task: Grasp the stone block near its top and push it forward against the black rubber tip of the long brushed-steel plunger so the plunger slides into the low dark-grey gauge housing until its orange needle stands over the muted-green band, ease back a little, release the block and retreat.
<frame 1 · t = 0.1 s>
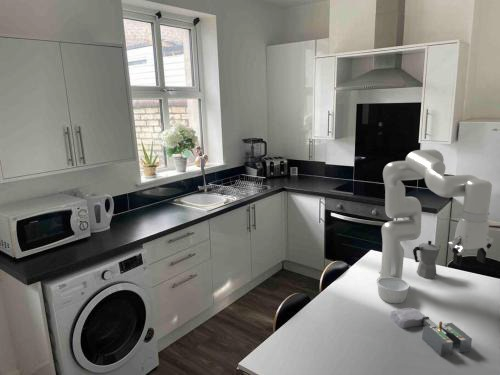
hand: (468, 263, 133), 31 cm above the table, fingers open, 9 cm apart
gauge housing: (445, 344, 139), on the table
stone block: (406, 320, 154), on the table
ramekin: (392, 297, 172), on the table
plunger: (434, 324, 144), point 4 cm above the table, slide at 0.0 cm
coffeepot: (424, 275, 192), on the table
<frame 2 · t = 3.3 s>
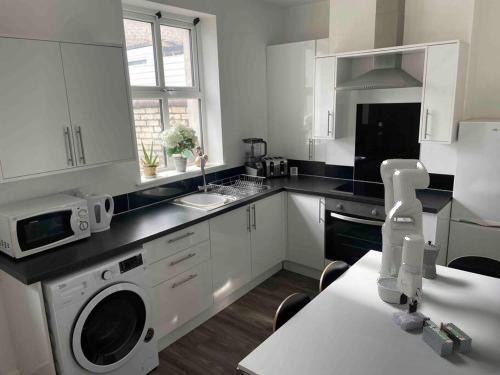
hand: (407, 307, 153), 5 cm above the table, fingers open, 5 cm apart
stone block: (408, 322, 153), on the table
plunger: (435, 325, 143), point 4 cm above the table, slide at 0.6 cm
everything else where it was.
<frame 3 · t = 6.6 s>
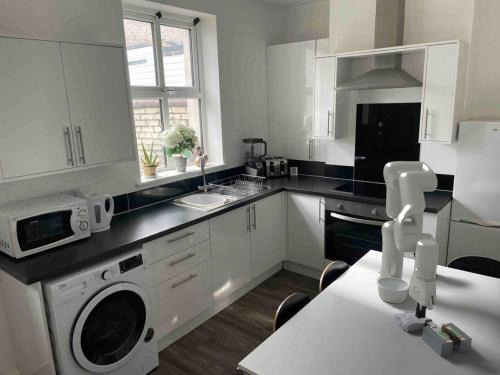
hand: (420, 317, 146), 6 cm above the table, fingers closed
stone block: (410, 324, 152), on the table
plunger: (437, 327, 142), point 4 cm above the table, slide at 1.8 cm
everything else where it was.
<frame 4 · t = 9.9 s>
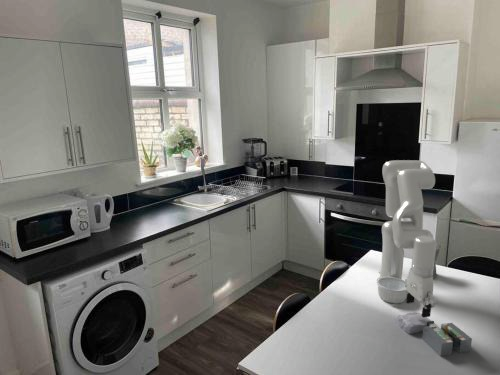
hand: (417, 309, 147), 8 cm above the table, fingers open, 9 cm apart
stone block: (412, 325, 151), on the table
plunger: (439, 328, 141), point 4 cm above the table, slide at 2.9 cm
everything else where it was.
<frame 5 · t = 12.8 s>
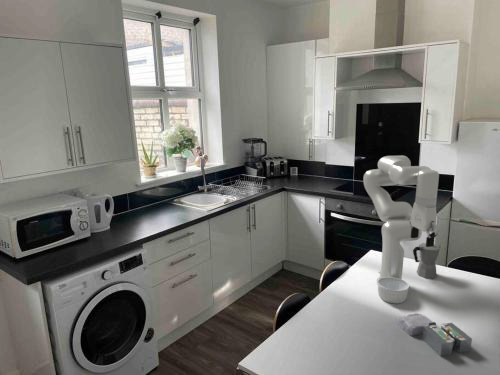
hand: (421, 241, 155), 30 cm above the table, fingers open, 9 cm apart
stone block: (414, 327, 150), on the table
plunger: (441, 330, 140), point 4 cm above the table, slide at 3.9 cm
everything else where it was.
at the end: plunger slide at 4.0 cm; the gripper is holding nothing; stone block tilted 0° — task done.
